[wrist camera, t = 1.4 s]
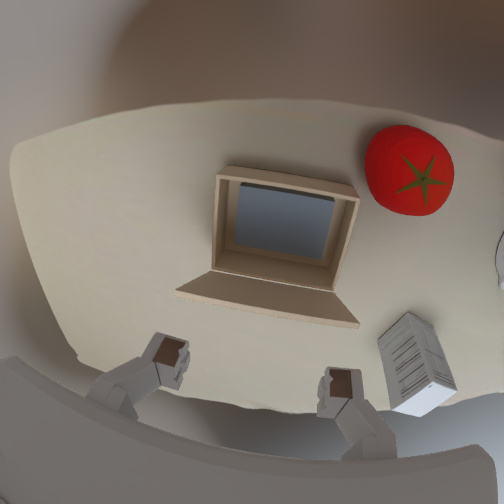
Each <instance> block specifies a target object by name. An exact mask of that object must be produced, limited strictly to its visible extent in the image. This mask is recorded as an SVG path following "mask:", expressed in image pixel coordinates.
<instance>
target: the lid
mask: <svg viewBox="0 0 504 504" xmlns="http://www.w3.org/2000/svg"><path fill="white" fill-rule="evenodd" d="M174 296H176V297H181V298H185V299H189V300H194V301H198V302H203V303H207V304H212V305H217V306H221V307H226V308H231V309H236V310H241V311H246V312H252V313H257V314H262V315H268V316H273V317H279V318H285V319H291V320H297V321H303V322H309V323H316V324H322V325H329V326H336V327H344V328H351V329H359V326H360V323H359V322H358V320H357V319H356V318H355V317H354V316H353V315H352V313H351V312H350V311H349V310H348V309H347V307H346V306H345V305H344V304H343V303H342V301H341V300H340V299H339V298H338V297H337V296H336V294H335V293H332V292H326V291H320V290H314V289H308V288H302V287H296V286H291V285H285V284H279V283H274V282H268V281H263V280H257V279H252V278H246V277H241V276H235V275H230V274H225V273H220V272H215V271H209V272H207V273H205V274H204V275H202V276H200V277H198V278H196V279H194V280H192V281H190V282H188V283H187V284H185V285H183V286H181V287H179V288H177V289H175V290H174Z"/></svg>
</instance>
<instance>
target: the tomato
mask: <svg viewBox="0 0 504 504" xmlns="http://www.w3.org/2000/svg"><path fill="white" fill-rule="evenodd" d="M365 173H366V179H367V182H368V186H369V189H370V191H371V193H372V195H373V197H374V198H375V200H376V201H377V202H378V203H379V204H380V205H381V206H383V207H385V208H387V209H389V210H391V211H393V212H396V213H399V214H404V215H412V216H424V215H429V214H431V213H434V212H435V211H437V210H438V209H439V208H440V207H441V206H442V205H443V204H444V203H445V201H446V199H447V198H448V196H449V194H450V192H451V189H452V185H453V181H454V166H453V162H452V159H451V156H450V154H449V153H448V151H447V149H446V148H445V147H444V145H443V144H442V143H441V142H440V141H438V140H437V139H436V138H435V137H433V136H432V135H430V134H428V133H426V132H425V131H422V130H420V129H418V128H415V127H411V126H407V125H396V126H391V127H388V128H385V129H383V130H381V131H380V132H378V133H376V135H375V136H374V138H373V139H372V140H371V142H370V144H369V146H368V148H367V151H366V156H365Z"/></svg>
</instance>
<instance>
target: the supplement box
mask: <svg viewBox="0 0 504 504" xmlns="http://www.w3.org/2000/svg"><path fill="white" fill-rule="evenodd" d="M378 345H379V349H380V354H381V358H382V363H383V367H384V373H385V378H386V383H387V388H388V394H389V400H390V406H391V410H393V411H397V412H401V413H405V414H409V415H413V416H417V417H421V416H423V415H425V414H426V413H428V412H429V411H431V410H432V409H434V408H435V407H437V406H438V405H440V404H441V403H443V402H444V401H445V400H447V399H448V398H450V397H451V396H452V395H454V394H455V393H456V392H457V391H458V390H457V387H456V384H455V382H454V379H453V376H452V373H451V370H450V368H449V365H448V363H447V360H446V357H445V354H444V352H443V349H442V347H441V344H440V342H439V340H438V337H437V335H436V332H435V330H434V328H433V327H432V326H431V325H429V324H427V323H426V322H424V321H423V320H421V319H419V318H418V317H416V316H415V315H413V314H411V313H410V312H407V313H406V314H405V315H404V316H403V317H402V318H401V319H400V320H399V321H398V322H397V323H396V324H395V325H394V326H393V327H392V328H391V329H390V330H388V331H387V332H386V333H385V334H384V335H383V336H382V337H381V338H380V339H378Z"/></svg>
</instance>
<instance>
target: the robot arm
mask: <svg viewBox="0 0 504 504" xmlns="http://www.w3.org/2000/svg"><path fill="white" fill-rule="evenodd" d="M496 268H497V272H498V274H499V287H500V288H501V289H502V290H504V234H503V236H502V238H501V241H500V243H499V246H498V250H497V254H496ZM188 348H189V341H186V340H183V339H179V338H176V337H173V336H169V335H166V334H163V333H159V332H156V333H155V334H154V336H153V337H152V339H151V341H150V342H149V344H148V346H147V347H146V349H145V351H144V353H143V354H142V356H141V357H136V358H134V359H132V360H130V361H128V362H126V363H124V364H122V365H120V366H119V367H117V368H115V369H113V370H111V371H109V372H107V373H105V374H103V375H101V376H99V377H97V379H96V381H95V382H94V384H93V385H92V387H91V388H90V390H89V392H88V393H87V395H86V397H83V396H81V395H79V394H77V393H76V392H74V391H72V390H70V389H68V388H66V387H65V386H63V385H61V384H60V383H58V382H56V381H54V380H53V379H51V378H49V377H48V376H46V375H45V374H43V373H41V372H40V371H38V370H37V369H35V368H34V367H32V366H31V365H29V364H28V363H26V362H25V361H24V360H22V359H21V358H19V357H18V356H14V355H13V356H8V357H5V358H2V359H0V504H498V492H497V477H496V469H495V464H494V461H493V459H492V458H491V456H490V455H489V454H488V453H487V452H486V451H485V450H484V449H483V448H482V447H481V446H480V445H478V444H471V445H468V446H464V447H460V448H456V449H451V450H446V451H441V452H436V453H430V454H425V455H418V456H411V457H402V458H397V447H396V437H395V433H394V432H393V431H392V430H391V428H390V427H389V426H388V425H387V423H386V422H385V421H384V420H383V418H382V417H381V416H380V415H379V413H378V412H377V411H376V410H375V408H374V407H373V406H372V405H371V404H370V402H369V401H368V400H365V399H364V390H363V382H362V374H361V370H359V369H349V368H339V367H327V368H326V370H325V376H323V377H321V380H320V382H319V386H318V394H317V396H318V398H319V399H320V401H319V402H318V404H317V417H324V418H335V421H336V423H337V424H338V426H339V428H340V430H341V431H342V433H343V435H344V437H345V438H346V440H347V442H348V444H349V445H350V447H351V448H350V449H349V450H348V451H347V452H346V453H345V454H343V455H342V456H341V461H338V460H312V459H298V458H288V457H279V456H271V455H263V454H257V453H250V452H245V451H240V450H235V449H230V448H225V447H221V446H217V445H212V444H208V443H204V442H200V441H197V440H193V439H189V438H186V437H183V436H179V435H175V434H172V433H170V432H166V431H164V430H161V429H158V428H155V427H152V426H149V425H147V424H144V423H141V422H139V421H137V420H138V418H139V417H138V415H137V413H136V411H135V409H134V407H133V406H134V405H135V404H137V403H138V402H140V401H141V400H142V399H144V398H145V397H147V396H148V395H150V394H151V393H152V392H154V391H155V390H156V389H158V388H159V387H161V386H165V387H168V388H172V389H175V390H179V388H180V385H181V383H182V381H183V373H185V372H186V371H187V369H188V366H189V362H190V352H189V351H188Z"/></svg>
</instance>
